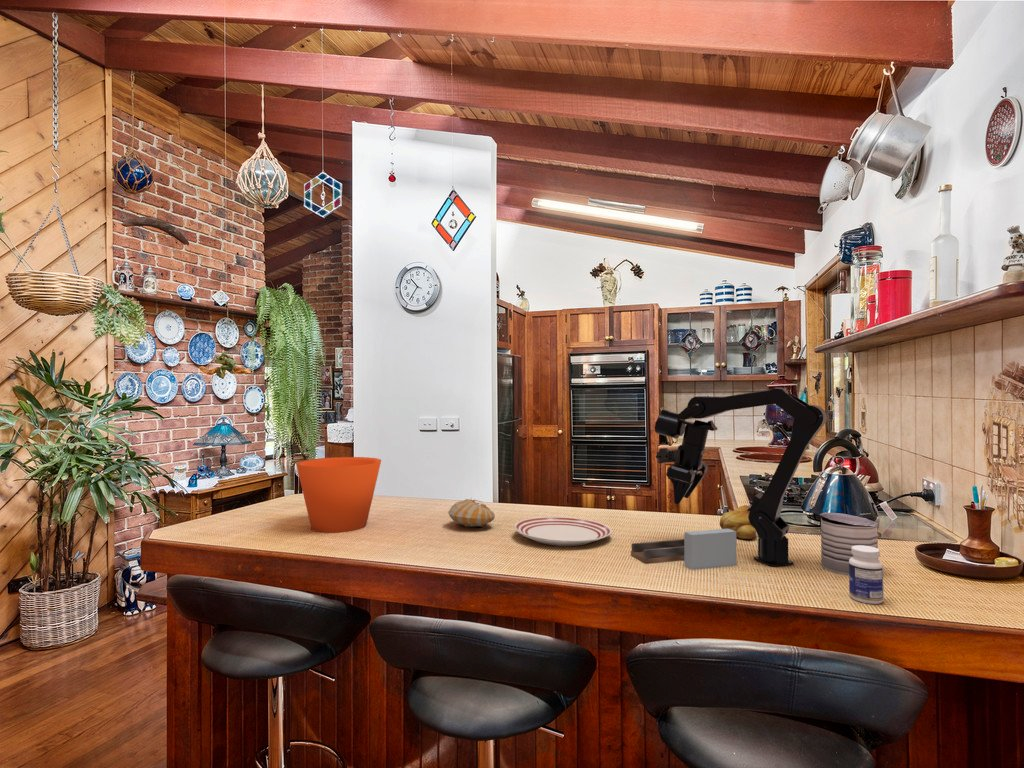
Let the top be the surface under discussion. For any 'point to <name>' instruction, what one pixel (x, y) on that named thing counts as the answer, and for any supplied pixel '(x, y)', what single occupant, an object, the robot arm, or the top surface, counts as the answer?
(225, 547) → the top surface
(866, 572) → the pill bottle
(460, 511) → the striped ribbed shell
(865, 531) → the can
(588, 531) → the dinner plate
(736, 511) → the tan lumpy piece
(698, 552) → the door panel
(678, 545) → the bottom track
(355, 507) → the flowerpot
